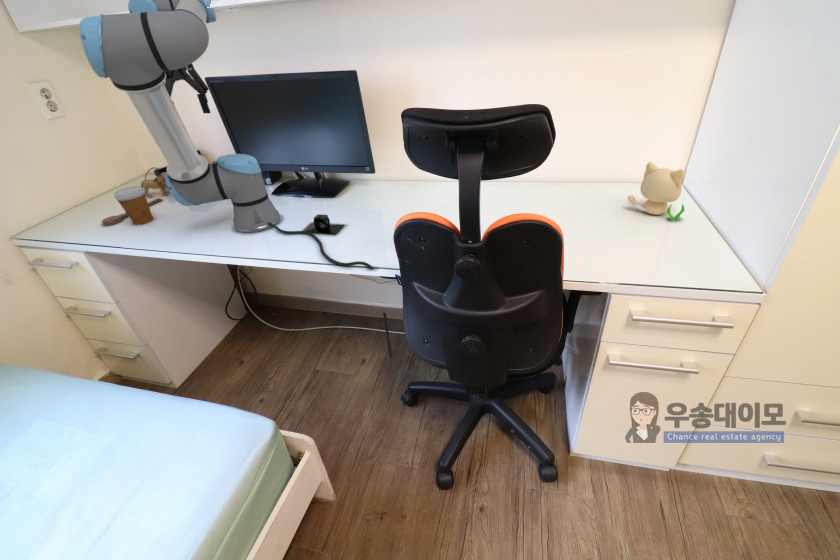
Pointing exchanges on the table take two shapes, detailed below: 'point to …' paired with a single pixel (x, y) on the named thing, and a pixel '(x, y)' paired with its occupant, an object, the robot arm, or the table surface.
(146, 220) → the disposable coffee cup
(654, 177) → the kitten
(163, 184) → the lion figurine
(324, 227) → the build plate
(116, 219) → the spoon
